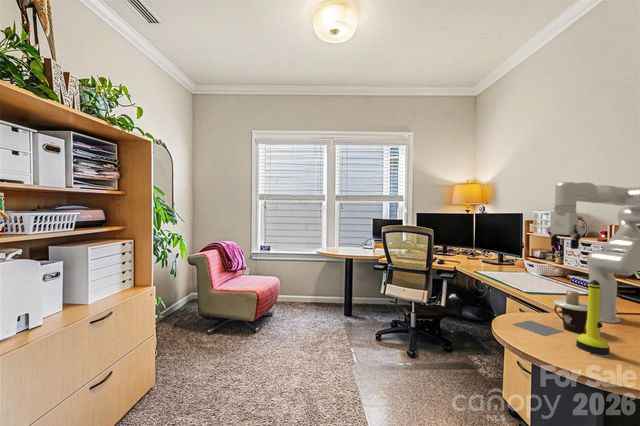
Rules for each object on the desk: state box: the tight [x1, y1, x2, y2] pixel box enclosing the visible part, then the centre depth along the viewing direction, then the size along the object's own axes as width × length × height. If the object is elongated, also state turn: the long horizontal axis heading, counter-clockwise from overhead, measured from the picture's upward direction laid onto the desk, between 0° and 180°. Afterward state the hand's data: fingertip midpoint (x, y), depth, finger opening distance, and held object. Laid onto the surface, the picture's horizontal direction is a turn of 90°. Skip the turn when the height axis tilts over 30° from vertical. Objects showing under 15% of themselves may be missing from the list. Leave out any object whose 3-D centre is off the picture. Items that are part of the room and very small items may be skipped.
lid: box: [553, 290, 588, 311], centre depth 124 cm, size 12×12×6 cm
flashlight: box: [575, 280, 611, 358], centre depth 105 cm, size 25×9×9 cm
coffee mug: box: [554, 305, 588, 335], centre depth 124 cm, size 12×9×10 cm
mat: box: [511, 320, 565, 337], centre depth 124 cm, size 13×13×1 cm
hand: (564, 247), depth 135 cm, fingers open, 9 cm apart
